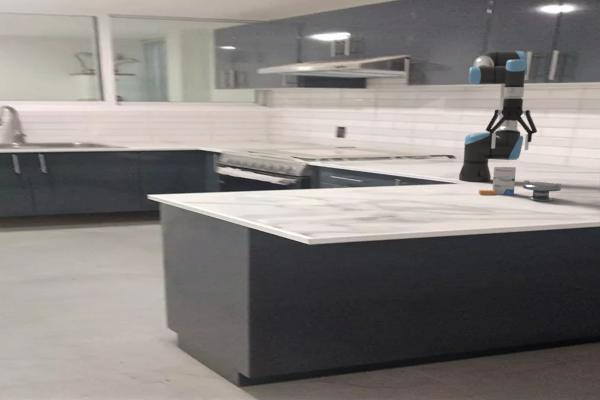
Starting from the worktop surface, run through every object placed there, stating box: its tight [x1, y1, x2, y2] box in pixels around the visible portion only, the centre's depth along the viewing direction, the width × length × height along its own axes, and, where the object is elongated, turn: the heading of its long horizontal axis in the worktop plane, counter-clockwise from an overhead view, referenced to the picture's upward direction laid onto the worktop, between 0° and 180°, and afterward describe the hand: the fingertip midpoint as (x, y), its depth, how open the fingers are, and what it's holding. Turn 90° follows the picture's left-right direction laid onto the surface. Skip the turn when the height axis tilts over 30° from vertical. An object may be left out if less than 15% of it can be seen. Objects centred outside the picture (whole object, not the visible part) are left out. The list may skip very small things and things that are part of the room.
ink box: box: [492, 165, 517, 196], centre depth 228 cm, size 8×5×12 cm, turn 65°
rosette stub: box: [522, 179, 562, 202], centre depth 216 cm, size 14×14×7 cm
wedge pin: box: [478, 189, 496, 196], centre depth 228 cm, size 6×2×2 cm, turn 85°
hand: (509, 149), depth 226 cm, fingers open, 13 cm apart
